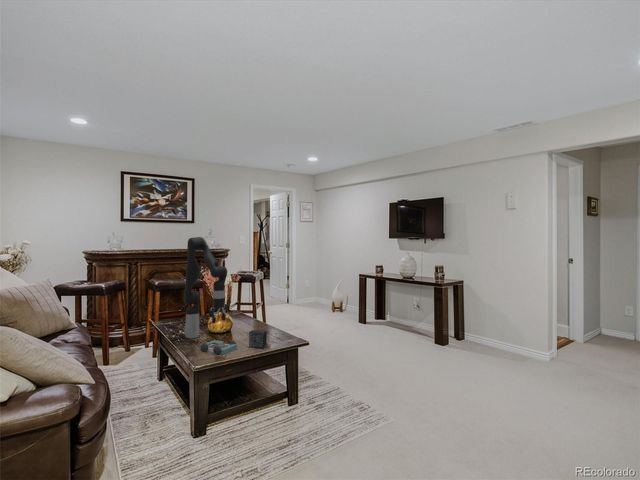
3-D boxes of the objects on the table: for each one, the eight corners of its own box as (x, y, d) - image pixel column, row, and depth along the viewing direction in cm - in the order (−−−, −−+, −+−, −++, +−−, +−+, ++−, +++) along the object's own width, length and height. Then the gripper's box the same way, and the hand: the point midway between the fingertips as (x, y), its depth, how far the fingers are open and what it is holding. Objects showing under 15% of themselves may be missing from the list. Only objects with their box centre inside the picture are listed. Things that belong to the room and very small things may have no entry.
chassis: (198, 350, 229) (198, 342, 229) (215, 343, 243) (215, 336, 243) (221, 355, 220) (221, 347, 220) (238, 348, 233) (238, 340, 233)
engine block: (212, 349, 231) (212, 342, 231) (217, 347, 235) (217, 340, 235) (219, 351, 228) (219, 343, 228) (224, 349, 232) (224, 341, 232)
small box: (267, 345, 239) (267, 330, 239) (263, 348, 233) (263, 333, 233) (252, 344, 242) (252, 329, 242) (248, 347, 235) (248, 332, 235)
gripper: (222, 294, 239) (222, 318, 240) (206, 298, 227) (206, 323, 227) (230, 295, 236) (230, 320, 236) (215, 299, 223) (215, 324, 224)
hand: (218, 321), depth 232 cm, fingers open, 8 cm apart
